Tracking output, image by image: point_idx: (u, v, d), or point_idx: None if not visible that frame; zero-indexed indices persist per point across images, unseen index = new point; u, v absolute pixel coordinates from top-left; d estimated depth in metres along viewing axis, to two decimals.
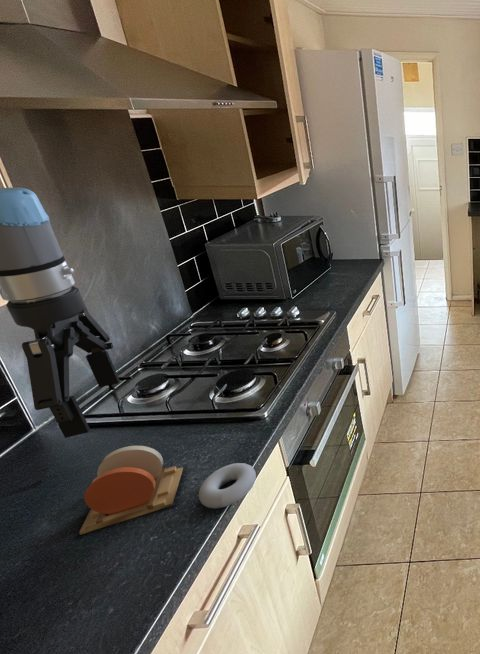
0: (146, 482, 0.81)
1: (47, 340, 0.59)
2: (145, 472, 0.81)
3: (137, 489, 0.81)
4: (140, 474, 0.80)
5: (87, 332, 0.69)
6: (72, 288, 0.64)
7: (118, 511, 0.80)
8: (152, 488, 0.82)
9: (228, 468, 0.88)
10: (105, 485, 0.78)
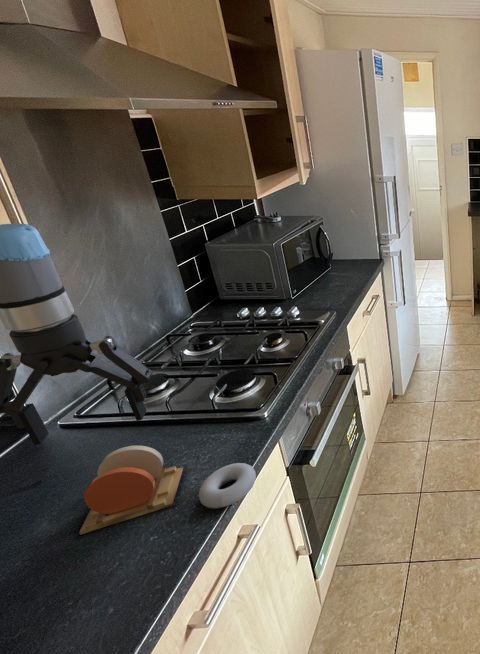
0: (145, 481, 0.81)
1: None
2: (144, 472, 0.81)
3: (137, 489, 0.81)
4: (139, 474, 0.80)
5: None
6: None
7: (118, 511, 0.80)
8: (152, 488, 0.82)
9: (228, 468, 0.88)
10: (105, 485, 0.78)
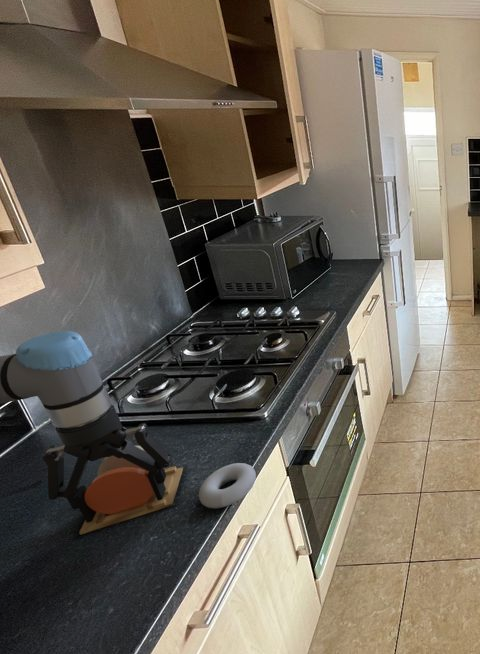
0: (146, 481, 0.81)
1: None
2: (145, 472, 0.81)
3: (137, 489, 0.81)
4: (140, 474, 0.80)
5: None
6: None
7: (118, 511, 0.80)
8: None
9: (228, 468, 0.88)
10: (105, 485, 0.78)
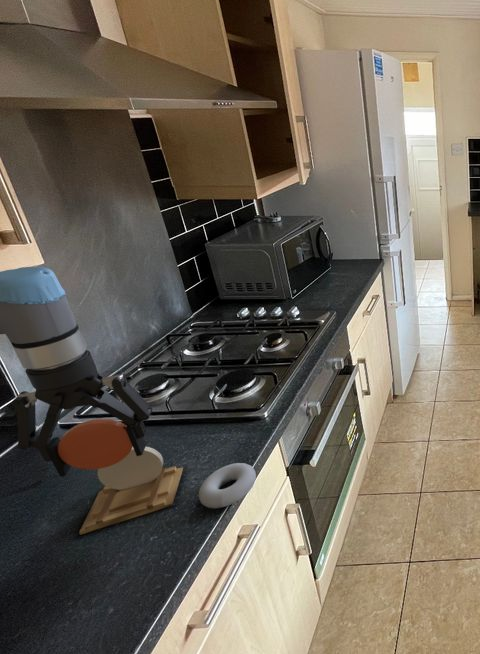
0: (124, 435, 0.76)
1: None
2: (123, 425, 0.76)
3: (115, 443, 0.76)
4: (118, 427, 0.75)
5: None
6: None
7: (94, 466, 0.76)
8: None
9: (228, 468, 0.88)
10: (80, 437, 0.73)
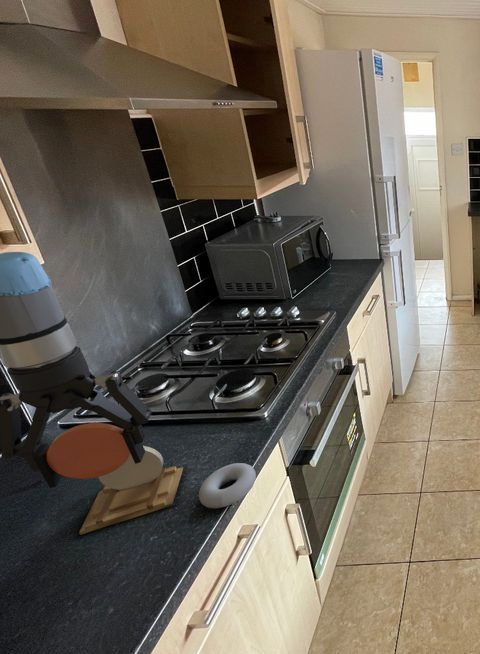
0: (120, 441, 0.69)
1: None
2: (119, 430, 0.69)
3: (110, 449, 0.69)
4: (113, 431, 0.68)
5: None
6: None
7: (88, 475, 0.69)
8: (128, 449, 0.70)
9: (228, 468, 0.88)
10: (71, 443, 0.66)
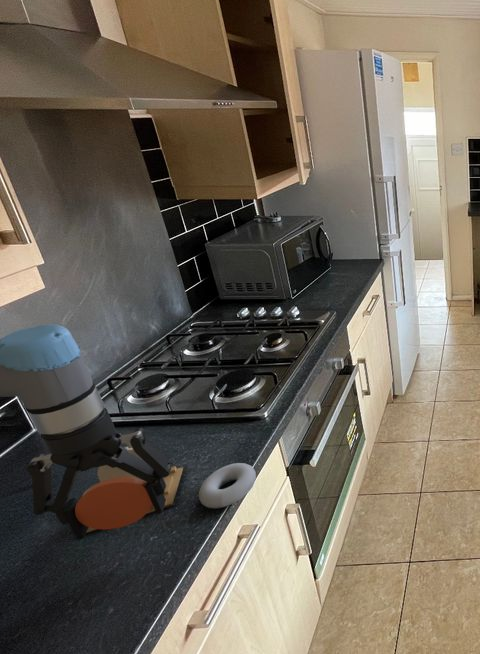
0: (143, 493, 0.73)
1: None
2: (142, 482, 0.73)
3: (134, 501, 0.72)
4: (137, 485, 0.72)
5: None
6: None
7: (113, 526, 0.72)
8: (150, 500, 0.74)
9: (228, 468, 0.88)
10: (98, 498, 0.70)
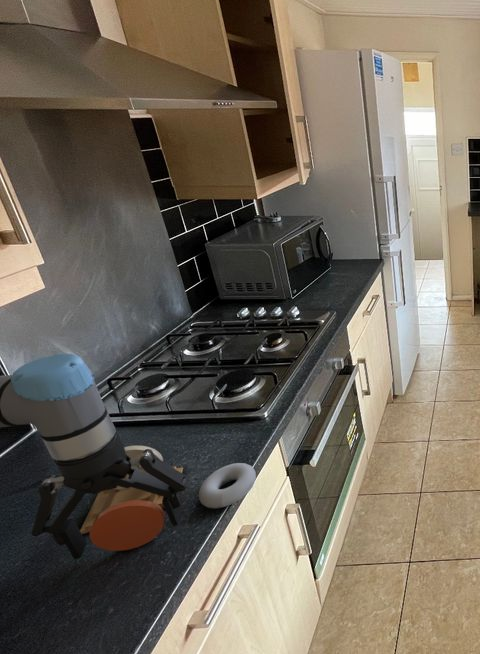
0: (156, 516, 0.75)
1: None
2: (155, 505, 0.75)
3: (146, 524, 0.75)
4: (150, 508, 0.74)
5: None
6: None
7: (124, 547, 0.74)
8: (162, 523, 0.76)
9: (228, 468, 0.88)
10: (112, 520, 0.72)
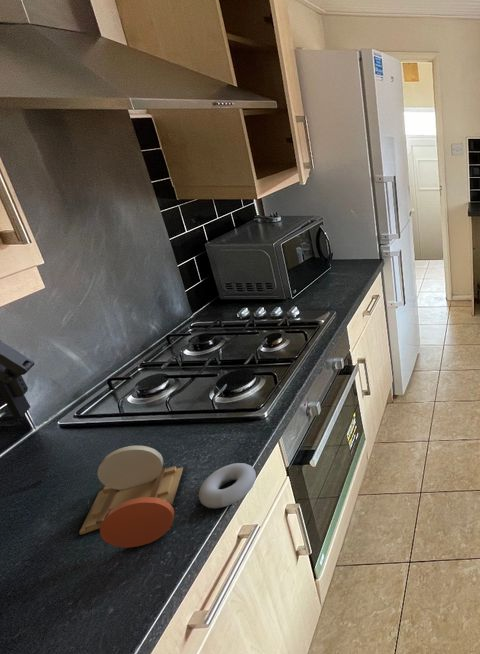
0: (167, 517, 0.76)
1: None
2: (170, 506, 0.76)
3: (155, 524, 0.75)
4: (166, 508, 0.75)
5: None
6: None
7: (125, 544, 0.74)
8: (170, 525, 0.77)
9: (228, 468, 0.88)
10: (128, 514, 0.73)
